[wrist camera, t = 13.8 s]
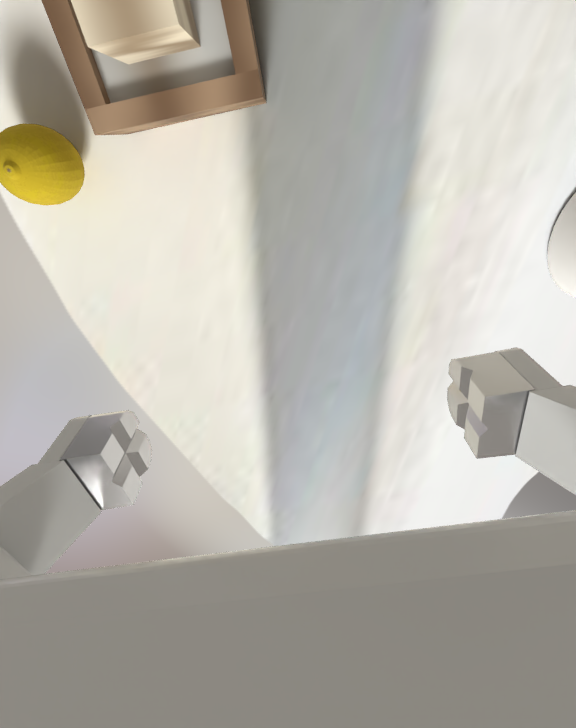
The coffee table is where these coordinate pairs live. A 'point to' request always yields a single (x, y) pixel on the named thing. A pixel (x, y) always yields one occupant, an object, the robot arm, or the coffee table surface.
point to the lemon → (39, 164)
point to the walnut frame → (165, 71)
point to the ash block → (137, 27)
